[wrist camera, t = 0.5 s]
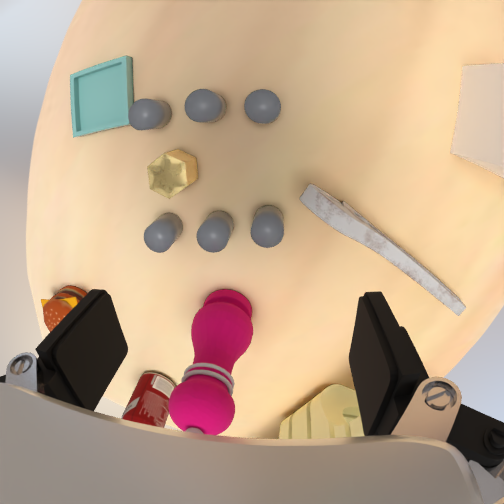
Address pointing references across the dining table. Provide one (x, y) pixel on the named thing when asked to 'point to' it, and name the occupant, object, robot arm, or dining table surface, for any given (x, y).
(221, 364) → the pepper mill
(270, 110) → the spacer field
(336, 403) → the slatted curved stool
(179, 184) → the gold hexagonal prism
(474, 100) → the milk
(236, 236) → the dining table surface
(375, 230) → the silver wrench
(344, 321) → the dining table surface
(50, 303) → the hamburger
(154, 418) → the soda can
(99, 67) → the teal dish
